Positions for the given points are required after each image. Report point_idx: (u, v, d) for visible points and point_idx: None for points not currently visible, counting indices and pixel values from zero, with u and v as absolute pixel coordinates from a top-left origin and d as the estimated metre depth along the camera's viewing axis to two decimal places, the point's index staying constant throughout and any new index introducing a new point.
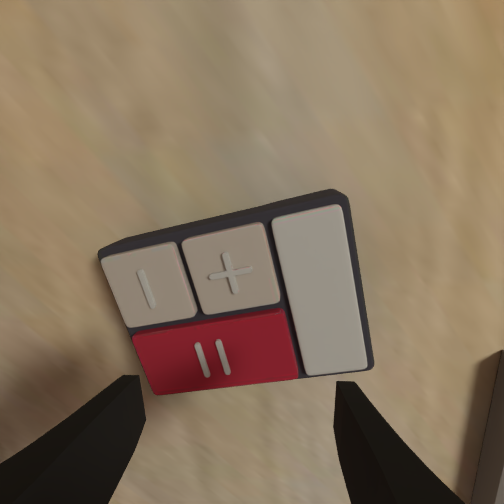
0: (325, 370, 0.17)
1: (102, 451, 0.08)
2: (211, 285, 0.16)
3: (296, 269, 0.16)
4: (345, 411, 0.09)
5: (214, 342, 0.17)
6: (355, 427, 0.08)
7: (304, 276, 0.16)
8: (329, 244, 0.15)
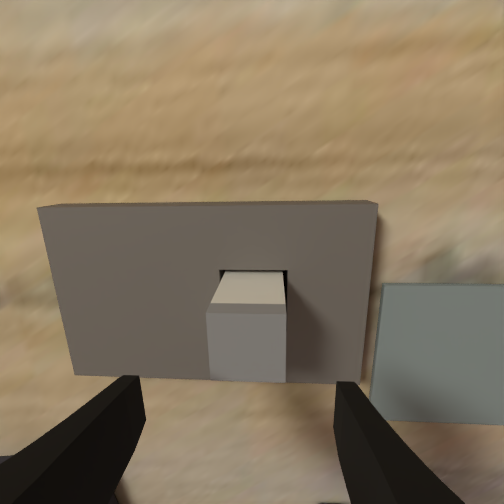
0: None
1: (102, 451, 0.08)
2: None
3: None
4: (345, 411, 0.09)
5: None
6: (355, 427, 0.08)
7: None
8: None
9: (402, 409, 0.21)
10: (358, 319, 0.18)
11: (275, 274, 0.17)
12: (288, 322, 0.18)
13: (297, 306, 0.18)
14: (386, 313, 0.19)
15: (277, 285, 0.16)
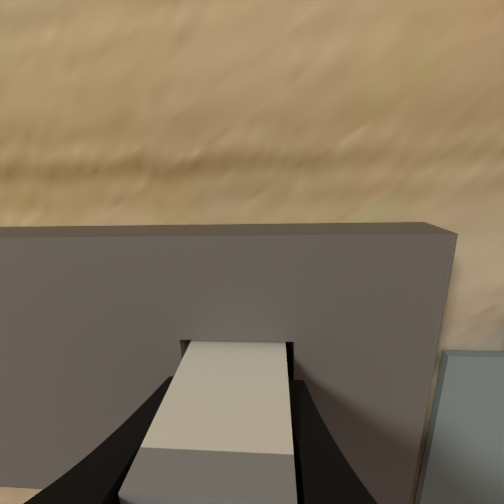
0: None
1: None
2: None
3: None
4: None
5: None
6: None
7: None
8: None
9: None
10: (411, 418, 0.11)
11: (273, 348, 0.10)
12: None
13: None
14: (449, 397, 0.12)
15: (276, 384, 0.09)
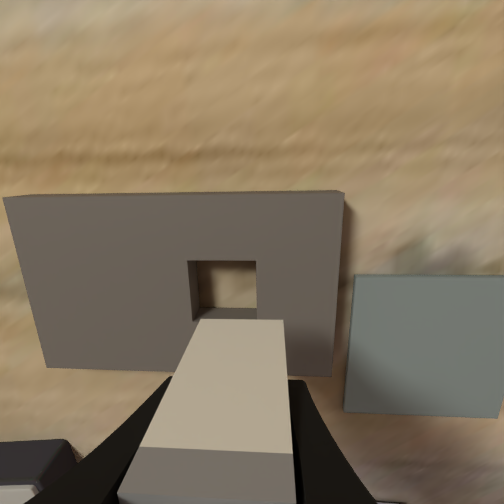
0: None
1: None
2: None
3: None
4: None
5: None
6: (291, 424, 0.08)
7: None
8: None
9: (377, 402, 0.21)
10: (328, 310, 0.18)
11: (272, 348, 0.10)
12: (258, 313, 0.18)
13: (267, 297, 0.18)
14: (358, 305, 0.19)
15: (276, 383, 0.09)
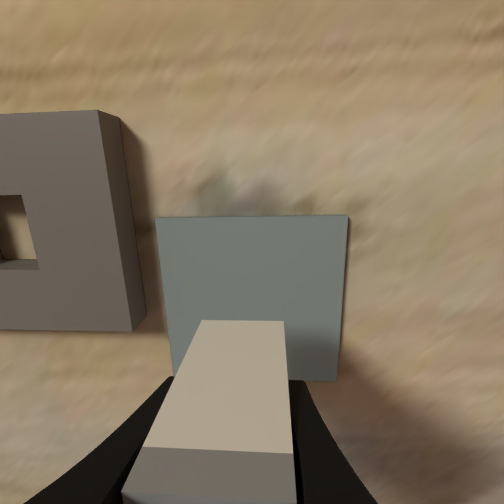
0: None
1: None
2: None
3: None
4: None
5: None
6: (291, 424, 0.08)
7: None
8: None
9: None
10: (111, 253, 0.16)
11: (272, 349, 0.10)
12: (38, 258, 0.16)
13: (43, 238, 0.16)
14: (164, 251, 0.17)
15: (276, 384, 0.09)
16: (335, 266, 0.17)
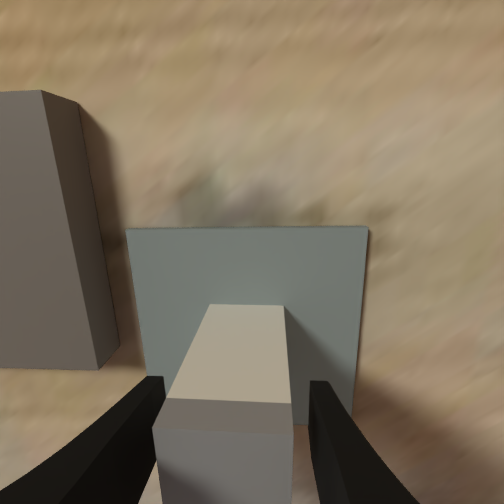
0: None
1: (132, 452, 0.08)
2: None
3: None
4: (315, 410, 0.09)
5: None
6: (322, 426, 0.08)
7: None
8: None
9: None
10: (68, 274, 0.12)
11: (273, 327, 0.12)
12: None
13: None
14: (138, 271, 0.14)
15: (277, 354, 0.10)
16: (351, 289, 0.13)
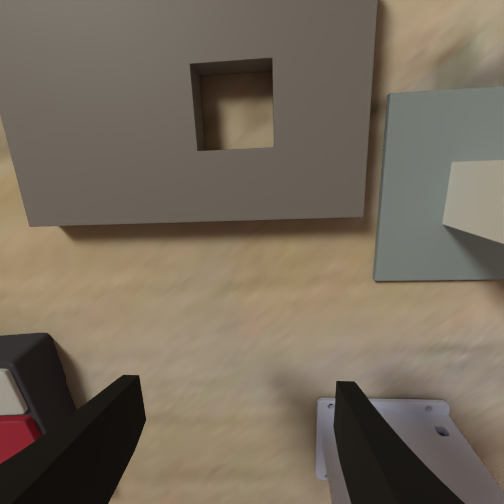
0: (14, 401, 0.20)
1: (102, 451, 0.08)
2: None
3: None
4: (345, 411, 0.09)
5: None
6: (355, 427, 0.08)
7: None
8: None
9: (414, 264, 0.18)
10: (359, 123, 0.15)
11: None
12: (275, 133, 0.15)
13: (286, 109, 0.15)
14: (393, 132, 0.16)
15: None
16: None
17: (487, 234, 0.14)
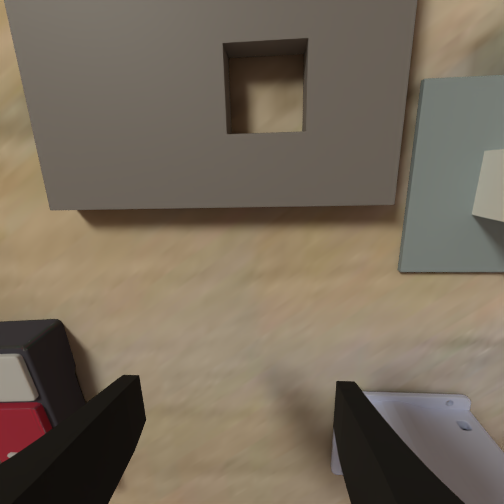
0: (25, 387, 0.19)
1: (102, 451, 0.08)
2: None
3: None
4: (345, 411, 0.09)
5: None
6: (355, 427, 0.08)
7: None
8: None
9: (441, 255, 0.18)
10: (395, 107, 0.14)
11: None
12: (308, 117, 0.15)
13: (320, 92, 0.14)
14: (425, 119, 0.16)
15: None
16: None
17: None
